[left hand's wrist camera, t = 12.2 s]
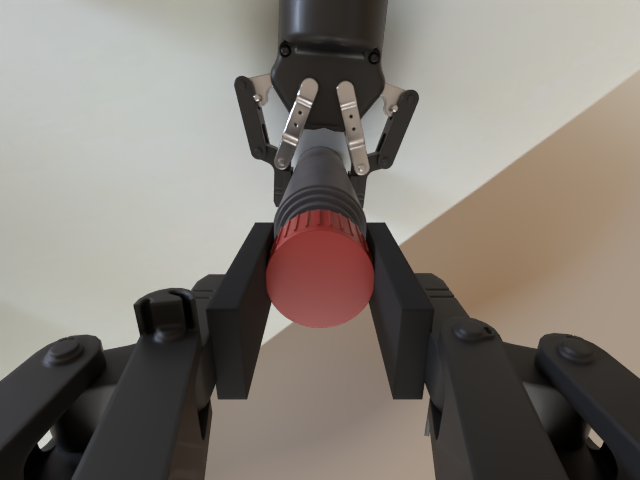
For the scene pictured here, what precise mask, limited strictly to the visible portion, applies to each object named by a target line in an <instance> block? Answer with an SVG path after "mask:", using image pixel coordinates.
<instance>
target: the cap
mask: <svg viewBox="0 0 640 480" xmlns="http://www.w3.org/2000/svg"><path fill="white" fill-rule="evenodd" d="M269 255H270V257H269V260H268V263H267V268H266V285H267V293H268V295H269V298H270V300H271V301H272V303H273V305H274V306H275V307H276V309H277V310H278V311H279V312H280V313H281V314H283V315H284V316H285V317H286V318H288V319H290V320H291V321H293V322H295V323H298V324H300V325H303V326H307V327H314V328H326V327H333V326H337V325H340V324H343V323H345V322H347V321H349V320H351V319H352V318H354V317H355V316H356V315H358V314H359V313H360V312H361V311H362V310H363V309H364V308H365V306H366V305H367V303H368V302H369V300H370V298H371V296H372V293H373V288H374V267H373V264H372V262H373V259H372V256H371V253H370V250H369V247H368V245H367V242H366V240H365V237H364V234H363V233H361V232H360V230H359V228H358V226H357V225H355V224H354V223H353V222H351V220H350V219H349V218H348V219H347V218H346V217H344V216H342V215H341V213H339V214H338V213H335V212H331V210H328V211H324V210H320V209H318V210H315V211H307V212H305V213H302V214H300V215H299V214H297V216H296V217H294V218H293V219H291V220H288V222H287V224H286V225H285V226H284V227H281V229H280V232H279V234H278V235H276V237H275V240H274V243H273V245H272V248H271V251H270V254H269Z"/></svg>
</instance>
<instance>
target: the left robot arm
mask: <svg viewBox="0 0 640 480" xmlns="http://www.w3.org/2000/svg"><path fill="white" fill-rule="evenodd" d="M274 240H275V237H274V223H255V224H254V226H253V228H252V229H251V231H250V233H249V235H248V236H247V238H246V240H245V242H244V243H243V245H242V247H241V248H240V250H239V252H238V254H237V255H236V257H235V259H234V261H233V262H232V264H231V266H230V268H229V269H228V271H227V273H226V274H209V275H207V276H205V277H204V278H202V279H201V280H199V281H198V282H197V283H196V284H195V286H194V287H193V288H192V290H191V291H190V290H187V289H183V288H169V289H163V290H158V291H155V292H152V293H149V294H147V295H145V296H144V297H142V298H140V299H139V300H138V301H137V302H136V303H135V304H134V310H135V314H136V319H137V323H138V328H139V332H140V338H139V340H138V342H137V343H136V344H132V345H129V346H124V347H118V348H113V349H108V350H103V347H102V344H101V340H100V339H98V338H97V337H96V336H91V335H77V336H70V337H68V338H67V337H66V338H62V339H59V340H58V341H56V342H54V343H51V344H49V345H47V346H45V347H44V348H42V349H41V350H39V351H38V352H36V353H35V354H34V355H32V356H31V357H30V358H29V359H27V360H26V361H25V362H24V363H22V364H21V365H20V366H19V367H17V368H16V369H15V370H14V371H13V372H11V373H10V374H9V375H8V376H6V377H5V378H4V379H3V380H1V381H0V480H204V478H205V469H206V461H207V453H208V444H209V436H210V427H211V419H212V408H211V401H210V397H211V395H212V392H213V389H214V387H215V384H216V389H217V395H218V399H247V397H248V393H249V389H250V385H251V381H252V378H253V374H254V369H255V366H256V362H257V358H258V354H259V350H260V346H261V342H262V338H263V334H264V330H265V326H266V322H267V318H268V314H269V310H270V306H271V302H272V301H271V300H270V298H269V295H268V293H267V285H266V268H267V263H268V260H269V257H270V255H269V254H270V251H271V248H272V245H273V243H274ZM366 242H367V245H368V247H369V250H370V253H371V256H372V259H373V262H372V264H373V267H374V288H373V293H372V296H371V298H370V300H369V305H370V309H371V313H372V317H373V321H374V325H375V329H376V333H377V337H378V341H379V345H380V349H381V353H382V357H383V361H384V365H385V369H386V372H387V377H388V381H389V385H390V388H391V393H392V396H393V399H422V397H423V390H424V383H425V384H426V387H427V390H428V392H429V395H430V401H429V408H428V415H427V421H426V428H425V436H429V434H430V435H431V443H432V452H433V460H434V468H435V477H436V480H640V379H639V378H638V377H637V376H636V375H634V374H633V373H632V372H631V371H629V370H628V369H627V368H626V367H624V366H623V365H622V364H621V363H619V362H618V361H617V360H616V359H614V358H613V357H612V356H611V355H609V354H608V353H607V352H606V351H604V350H603V349H601V348H599V347H598V346H596V345H595V344H593V343H591V342H589V341H586V340H584V339H582V338H580V337H577V336H572V335H569V334H559V333H552V334H546V335H544V336H543V337H542V338H541V339H540V341H539V345H538V348H537V349H535V348H529V347H524V346H519V345H514V344H510V343H506V342H503V341H502V339H501V337H500V335H499V334H498V333H497V331H496V330H495V329H494V328H492V327H491V326H489V325H488V324H486V323H484V322H482V321H479V320H477V319H473V318H470V317H469V316H468V314H467V313H466V312H465V310H464V309H463V307H462V306H461V305H460V303H459V302H458V300H457V299H456V298H454V295H453V294H452V292H451V291H449V288H448V287H447V285H446V284H445V283H444V281H443V280H441V279H440V278H438V277H437V276H435V275H433V274H432V273H414V272H413V271H412V269H411V267H410V265H409V264H408V262H407V260H406V258H405V257H404V255H403V253H402V252H401V250H400V248H399V246H398V245H397V243H396V241H395V239H394V238H393V236H392V234H391V232H390V231H389V229H388V227H387V225H386V224H385V223H366ZM591 428H592V429H593V430H594V431H595V432H596V433H597V434H598V435H599V436H600V438H601V439H602V440H603V441H604V442H603V445H602V447H601V448H599V447H598V446H597V445H596V444H595V443H594V442H593V441H592V440H591V439H590V438H589V437H588V435H589V432H590V430H591ZM49 429H50V432H51V434H52V437H53V438H52V439H51V440H50V441H49V442H48V443H47V444H46V445H45V446H44V447H43V448H42V449H40V448H39V446H38V444H37V443H38V442H39V441H40V439H41V438H42V437H43V436H44V435H45V434H46V433H47V432H48V431H49Z"/></svg>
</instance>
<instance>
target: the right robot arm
mask: <svg viewBox="0 0 640 480" xmlns="http://www.w3.org/2000/svg"><path fill="white" fill-rule="evenodd" d="M387 4H388V0H279V34H278V55H277V59H276V62H275V64H274V66H273V67H272V70H271V73H270V74H266V75H261V76H256V77H252V78H247V77H245V76H239V77H237V78H236V80H235V82H234V87H235V91H236V95H237V99H238V103H239V107H240V111H241V114H242V118H243V122H244V126H245V130H246V134H247V138H248V142H249V146H250V150H251V154H252V156H253V157H254V158H255V159H261V160H263V161H265V162H267V163H269V164H271V165H272V166H273V168H274V203H275V206H276V207H279V205H280V203H281V200H282V198H283V196H284V193H285V191H286V189H287V186H288V184H289V182H290V179H291V177H292V175H293V167H291V160H292V158H293V155H294V152H295V150H296V147H297V145H298V142H299V140H300V137H301V135H302V132H303V130H304V129H311V130H315V129H320V128H327V129H330V130H333V131H337V132H344V135H345V139H346V143H347V147H348V151H349V155H350V160H351V171H348V177H349V179H350V181H351V184H352V186H353V188H354V191H355V193H356V195H357V198H358V200H359V202H360V205H361V207H362V209H363V205H364V195H365V188H366V179H367V176H368V175H369V173H371V172H372V171H375V170H378V169H388V168H390V167H391V166H392V164H393V162H394V159H395V157H396V154H397V152H398V149H399V147H400V145H401V142H402V140H403V137H404V135H405V132H406V130H407V127H408V125H409V123H410V120H411V118H412V115H413V113H414V110H415V108H416V105H417V103H418V100H419V95H418V93H417V92H416V91H415V90H403V89H401V88H398V87H395V86H393V85H390V84H387V83H385V78H384V75H383V72H382V68H381V54H382V46H383V38H384V29H385V21H386V13H387ZM272 88H274V89H275V91H276V92H277V94H278V96H279V97H280V99H281V100H282V102H283V104H284V105H285V107H286V109H287V110H288V112H289V114H290V117H289V120H288V122H287V125H286V128H285V130H284V133H283V136H282V140H281V143H280V145H279V148H277V147H275V146H273V145H271V144H270V142H269V138H268V134H267V129H266V125H265V121H264V116H263V112H262V108H261V107H263V106H265V105H266V104H267V102H268V93H269V91H270V90H271V89H272ZM379 97H382V98H383V100H384V107H383V111H384V113H385V115H387V116H389V117H388V120H387V122H386V125H385V127H384V130H383V132H382V135H381V138H380V140H379V143H378V145H377V148H376V151H375V152H373V153H370V154H367V152H366V147H365V140H364V135H363V130H362V125H361V121H360V119H361V118H362V117H363V116H364V115H365V113H366V112H367V111H368V110H369V109H370V107H371V106H372V105H373V104H374V103H375V101H376V100H377V99H378V98H379Z"/></svg>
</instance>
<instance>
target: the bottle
mask: <svg viewBox="0 0 640 480" xmlns="http://www.w3.org/2000/svg"><path fill="white" fill-rule="evenodd" d="M318 209H320V210H324V211H328V210H331V212H335V213H338V214H339V213H341V215H342V216H344V217H346V218H347V219H348V218H349V219H350V220H351V222H353V223H354V224H355V225H357V226H358V228H359V230H360V232H361V233H363V234H364V237H365V239H366V218H365V215H364V212H363V209H362V207H361V205H360V202H359V200H358V198H357V195H356V193H355V191H354V188H353V186H352V184H351V181H350V179H349V177H348V175H347V172H346V170H345V168H344V165H343V163H342V161H341V159H340V157H339V156H338V154H337V153H336V152H334V151H333V150H331V149H329V148H327V147H320V146H319V147H313V148H310V149H309V150H307V151H306V152H304V153H303V154H302V156H301V157H300V159H299V161H298V163H297V165H296V168H295V170H294V172H293V175H292V177H291V179H290V182H289V184H288V186H287V189H286V191H285V193H284V196H283V198H282V200H281V203H280V205H279V207H278V210H277V212H276V215H275V218H274V237H276V235H278V234H279V232H280V229H281V227H284V226H285V225H286V224H287V222H288V220H291V219H293V218H294V217H296V216H297V214H299V215H300V214H302V213H305V212H307V211H315V210H318Z"/></svg>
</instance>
